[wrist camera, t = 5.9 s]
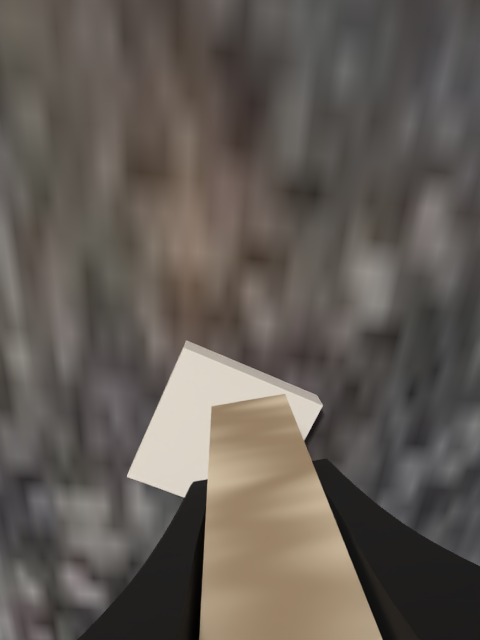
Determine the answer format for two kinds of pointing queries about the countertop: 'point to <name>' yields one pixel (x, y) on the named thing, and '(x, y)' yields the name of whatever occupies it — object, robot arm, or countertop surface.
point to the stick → (273, 536)
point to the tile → (204, 415)
